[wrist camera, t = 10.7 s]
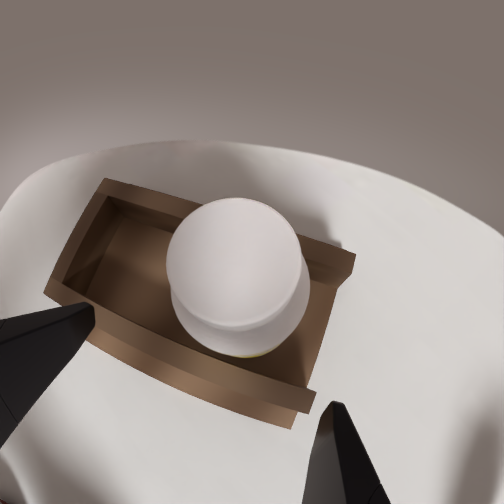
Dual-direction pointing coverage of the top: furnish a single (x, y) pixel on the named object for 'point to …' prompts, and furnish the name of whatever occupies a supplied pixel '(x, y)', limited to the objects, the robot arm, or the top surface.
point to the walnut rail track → (163, 314)
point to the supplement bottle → (237, 277)
